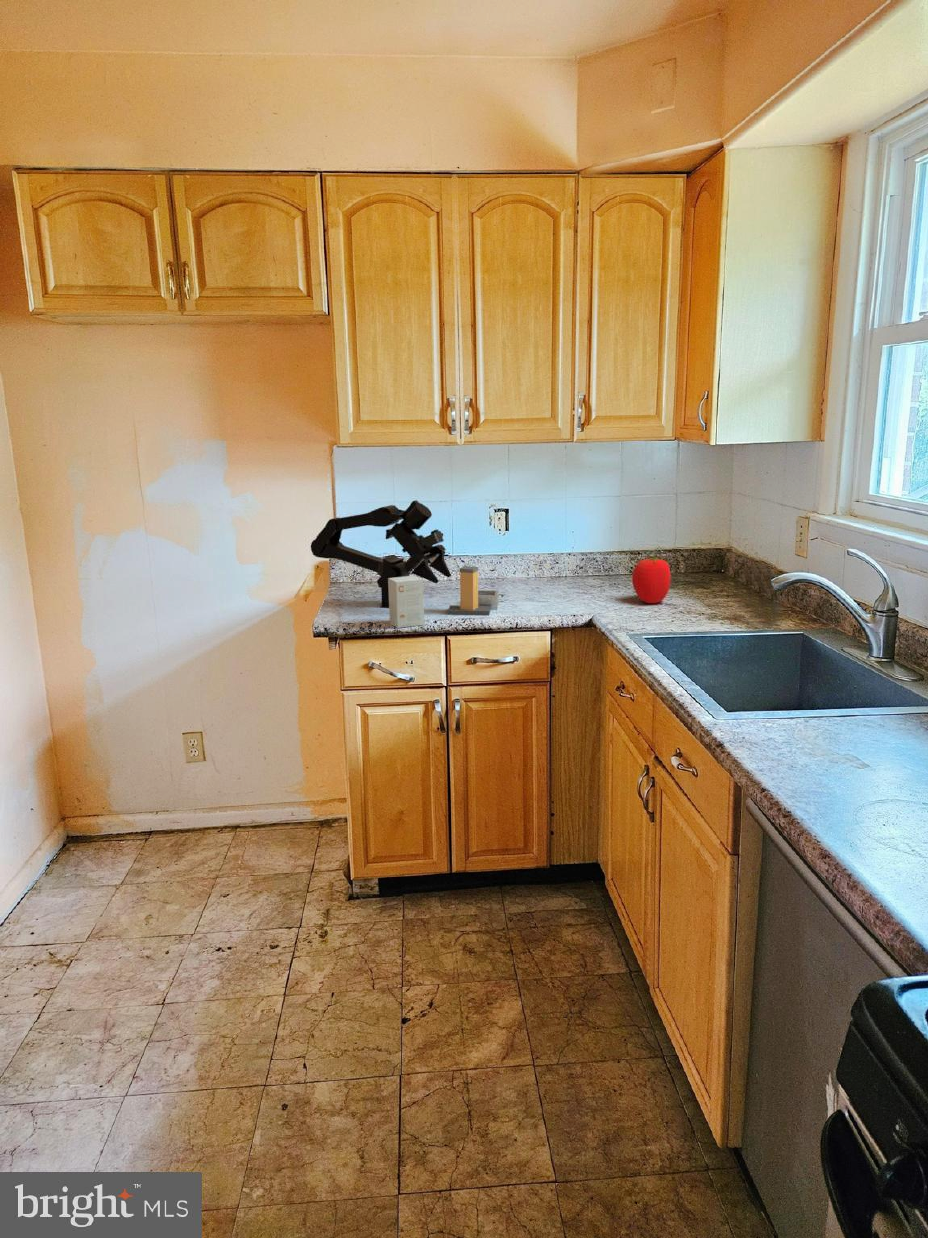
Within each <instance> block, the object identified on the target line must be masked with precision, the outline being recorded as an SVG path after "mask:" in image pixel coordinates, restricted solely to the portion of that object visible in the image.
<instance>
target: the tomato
mask: <svg viewBox="0 0 928 1238" xmlns="http://www.w3.org/2000/svg"><path fill="white" fill-rule="evenodd" d="M671 574H672V573H671V569H670V565H669V563H668V562H667V561H666V560H664V559H662V558H659V557H657V556H654V555H653V557H651V558H645V559H642V560H640V561H638V562H637V563H636V565H635V566H634V569H633V572H632V577H631V579H632V580H631V581H632V587H633V589H634V591H635V594H636V595H637V597H638V598H639V599H640V600H641V601H642V602H644V603H646V604H658V603H661V602H662V601H664V599H665V598H666V596H667V595H668V592H669V591H670V586H671V578H672V577H671Z"/></svg>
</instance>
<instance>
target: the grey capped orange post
mask: <svg viewBox="0 0 928 1238" xmlns="http://www.w3.org/2000/svg"><path fill="white" fill-rule="evenodd" d="M459 582H460V583H459V585H460V586H459V590H460V591H459V592H460V593H459V594H460V595H459V598H460V600H459V601H460V604H459V606H460V609H464V610H475V609H476V608H478V590H479V566H471V565H469V566H468V565H464V566H462V567H461V568H459Z"/></svg>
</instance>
